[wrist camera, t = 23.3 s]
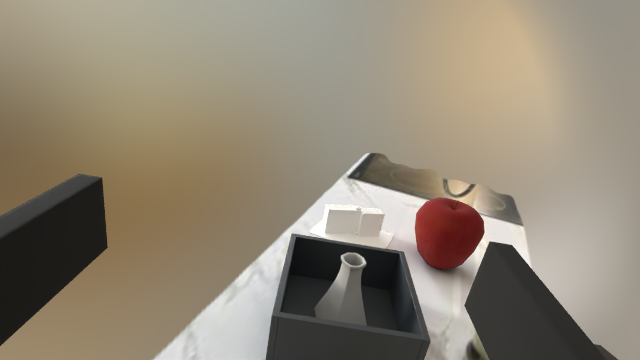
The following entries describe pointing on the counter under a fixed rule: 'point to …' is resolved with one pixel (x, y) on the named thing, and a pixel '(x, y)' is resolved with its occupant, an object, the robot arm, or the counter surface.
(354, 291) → the flask
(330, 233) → the napkin holder
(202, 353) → the counter surface
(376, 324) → the storage bin
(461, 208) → the apple
